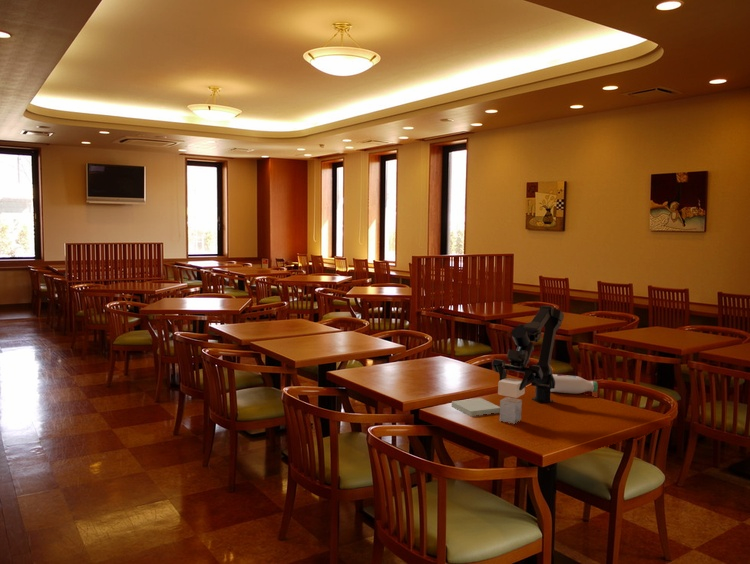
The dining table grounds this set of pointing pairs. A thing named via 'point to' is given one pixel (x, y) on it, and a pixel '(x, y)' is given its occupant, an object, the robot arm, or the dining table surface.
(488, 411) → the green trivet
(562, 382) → the milk bottle
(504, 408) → the steel tin
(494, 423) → the dining table surface
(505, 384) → the cream lid
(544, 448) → the dining table surface
